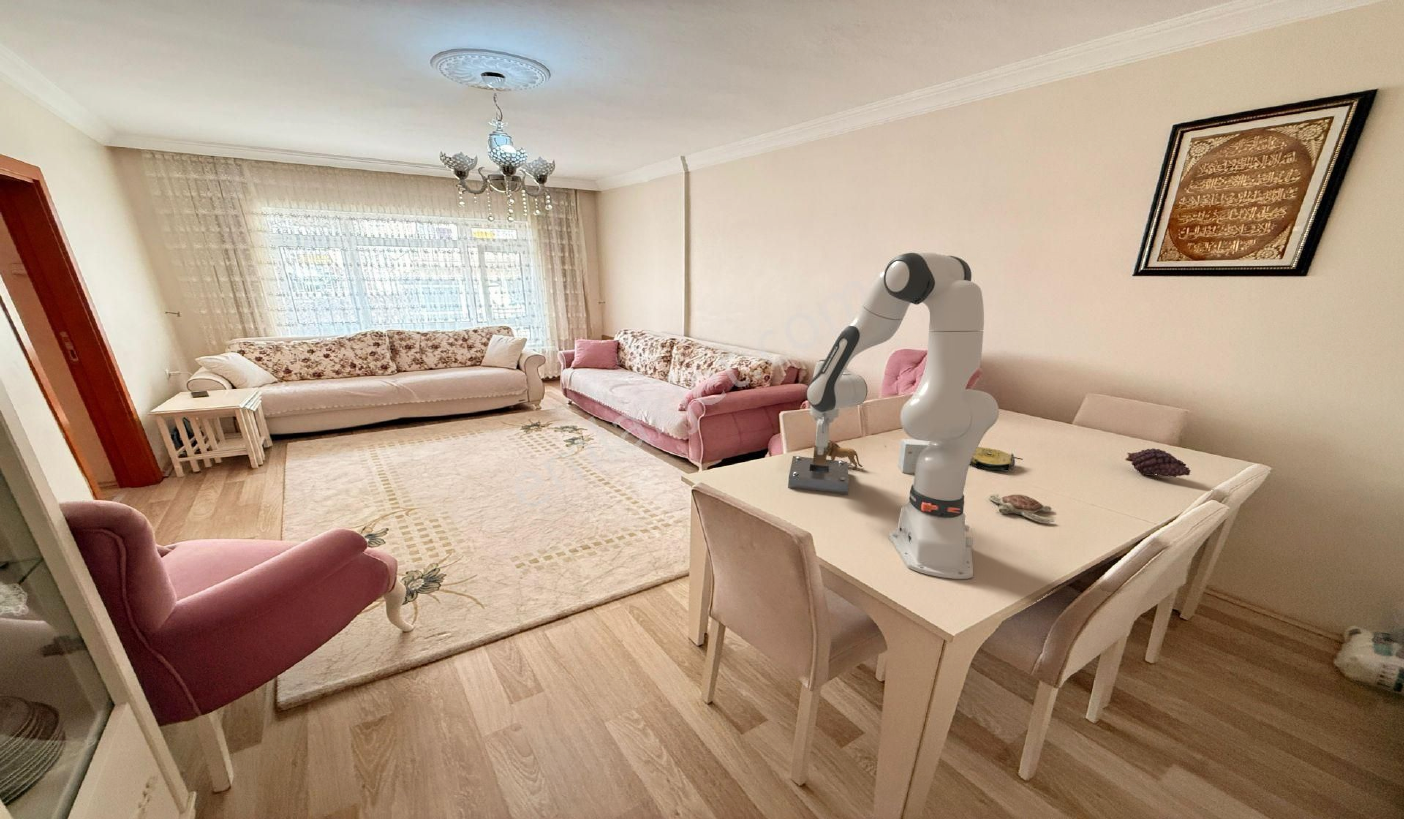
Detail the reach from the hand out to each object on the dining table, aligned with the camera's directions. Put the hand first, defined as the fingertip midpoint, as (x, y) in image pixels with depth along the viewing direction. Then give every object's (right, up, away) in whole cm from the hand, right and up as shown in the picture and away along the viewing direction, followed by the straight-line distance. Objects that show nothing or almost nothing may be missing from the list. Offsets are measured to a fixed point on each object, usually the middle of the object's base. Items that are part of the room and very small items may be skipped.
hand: (820, 451), depth 158 cm
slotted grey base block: (0, -10, +2) cm, 10 cm away
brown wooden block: (0, -4, +1) cm, 4 cm away
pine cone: (+117, -10, +12) cm, 118 cm away
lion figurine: (+10, -6, +15) cm, 20 cm away
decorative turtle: (+54, -16, -15) cm, 58 cm away
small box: (+34, -8, +12) cm, 37 cm away
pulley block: (+60, -6, +22) cm, 65 cm away
